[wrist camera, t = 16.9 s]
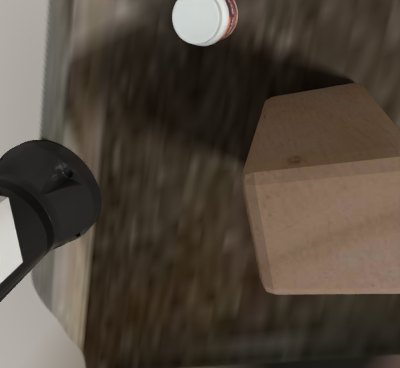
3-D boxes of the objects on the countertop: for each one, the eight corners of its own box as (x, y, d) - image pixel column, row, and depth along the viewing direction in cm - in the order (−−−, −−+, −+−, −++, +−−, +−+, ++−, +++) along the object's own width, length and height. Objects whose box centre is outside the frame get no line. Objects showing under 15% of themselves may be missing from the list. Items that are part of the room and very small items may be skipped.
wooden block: (262, 96, 39) (235, 171, 21) (363, 79, 36) (427, 150, 18) (275, 179, 43) (261, 300, 25) (366, 170, 40) (422, 300, 22)
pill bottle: (239, 39, 37) (225, 48, 29) (194, 41, 38) (169, 50, 30) (238, -13, 35) (223, -18, 27) (191, -10, 36) (164, -13, 28)
